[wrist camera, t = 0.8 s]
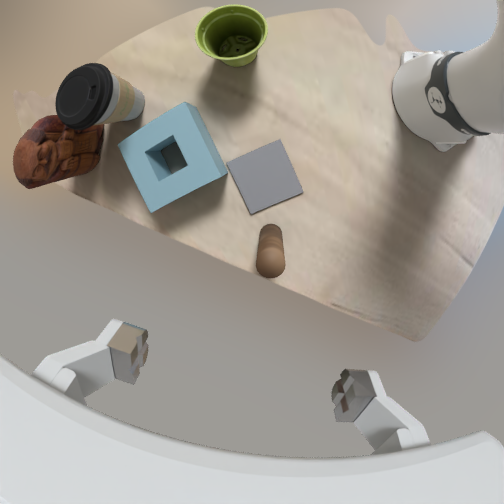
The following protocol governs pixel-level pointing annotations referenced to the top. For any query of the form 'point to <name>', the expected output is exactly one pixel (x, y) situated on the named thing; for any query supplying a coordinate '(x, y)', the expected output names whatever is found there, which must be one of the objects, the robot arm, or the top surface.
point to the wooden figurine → (55, 152)
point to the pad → (265, 176)
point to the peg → (270, 252)
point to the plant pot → (232, 34)
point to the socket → (154, 166)
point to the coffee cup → (96, 98)
